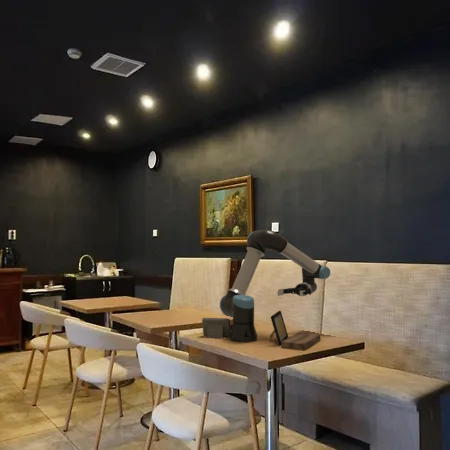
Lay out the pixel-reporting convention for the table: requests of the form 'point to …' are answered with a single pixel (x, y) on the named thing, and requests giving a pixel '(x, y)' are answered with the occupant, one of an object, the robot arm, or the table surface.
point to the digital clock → (216, 327)
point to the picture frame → (278, 328)
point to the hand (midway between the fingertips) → (289, 293)
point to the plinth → (300, 341)
